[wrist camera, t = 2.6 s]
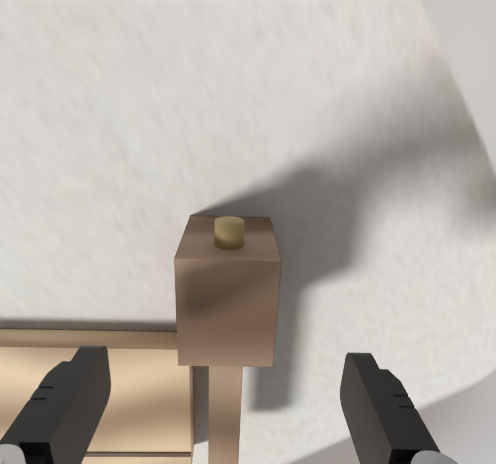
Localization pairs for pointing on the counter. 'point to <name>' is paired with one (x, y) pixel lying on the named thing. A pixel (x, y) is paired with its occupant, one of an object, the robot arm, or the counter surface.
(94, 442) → the board
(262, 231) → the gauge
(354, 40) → the counter surface
